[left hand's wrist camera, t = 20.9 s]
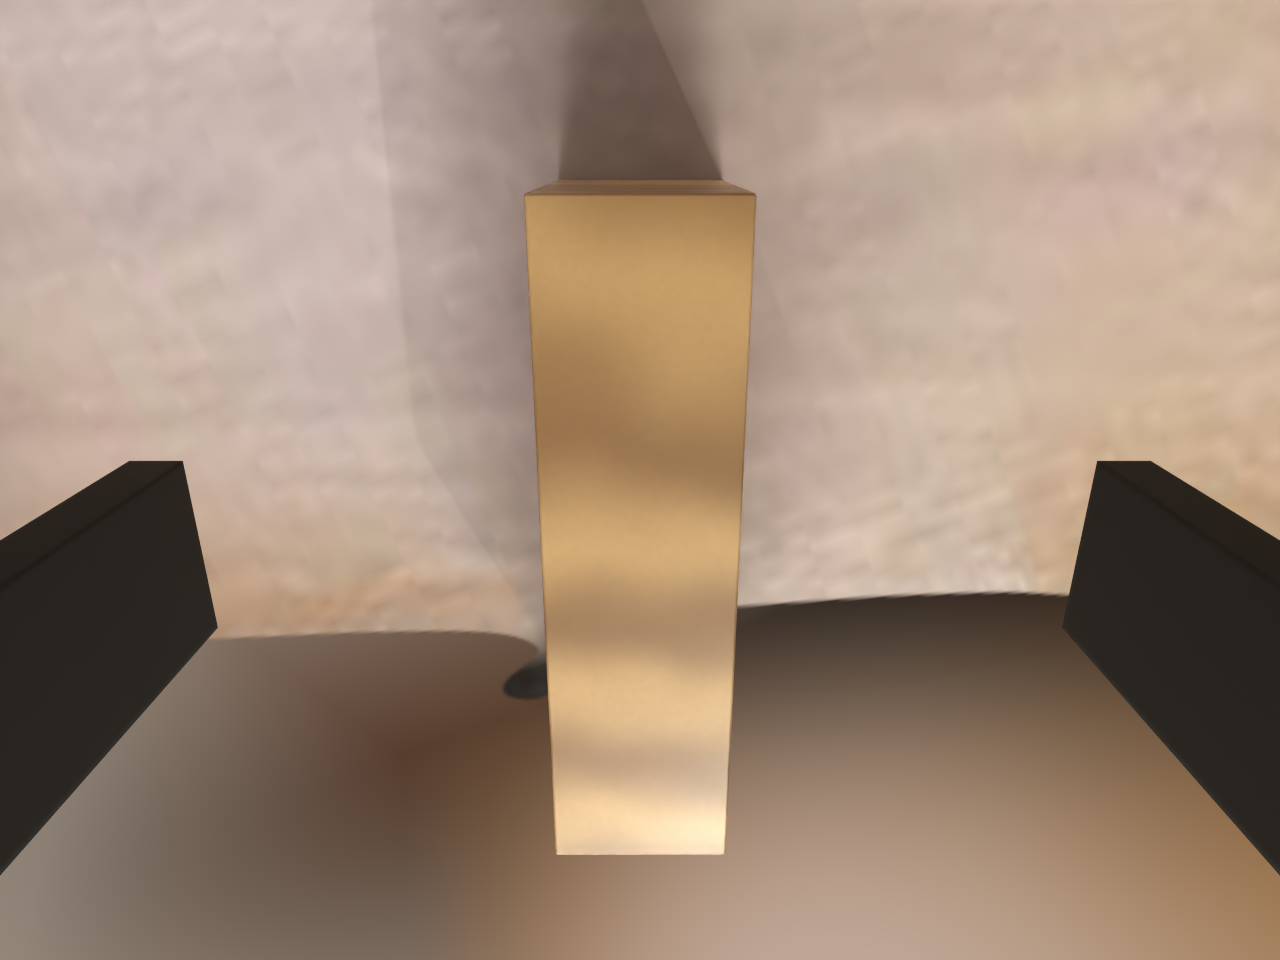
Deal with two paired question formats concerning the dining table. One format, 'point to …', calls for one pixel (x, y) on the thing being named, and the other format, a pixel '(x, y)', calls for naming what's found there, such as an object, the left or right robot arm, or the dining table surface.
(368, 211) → the dining table surface
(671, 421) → the box
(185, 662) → the left robot arm
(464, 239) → the dining table surface
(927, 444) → the dining table surface
